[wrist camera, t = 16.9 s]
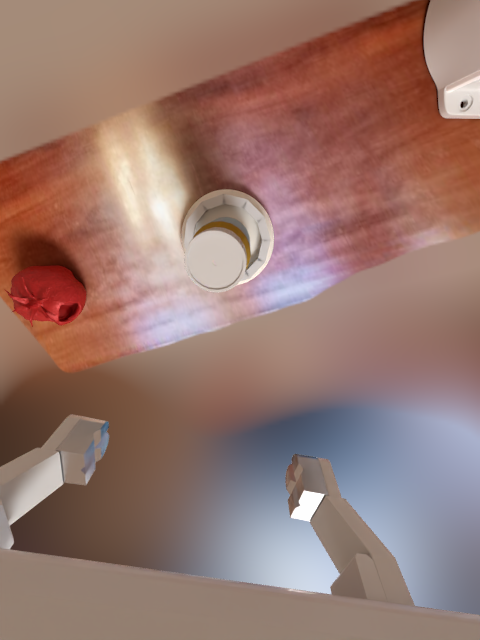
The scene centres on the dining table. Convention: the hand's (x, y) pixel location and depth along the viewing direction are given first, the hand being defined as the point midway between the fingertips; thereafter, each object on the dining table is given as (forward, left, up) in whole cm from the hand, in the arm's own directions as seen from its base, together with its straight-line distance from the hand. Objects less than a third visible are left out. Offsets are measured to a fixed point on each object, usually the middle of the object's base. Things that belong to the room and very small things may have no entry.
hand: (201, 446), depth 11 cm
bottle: (+2, -4, -32) cm, 33 cm away
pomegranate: (+28, +10, -33) cm, 45 cm away
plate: (+2, -4, -33) cm, 33 cm away
